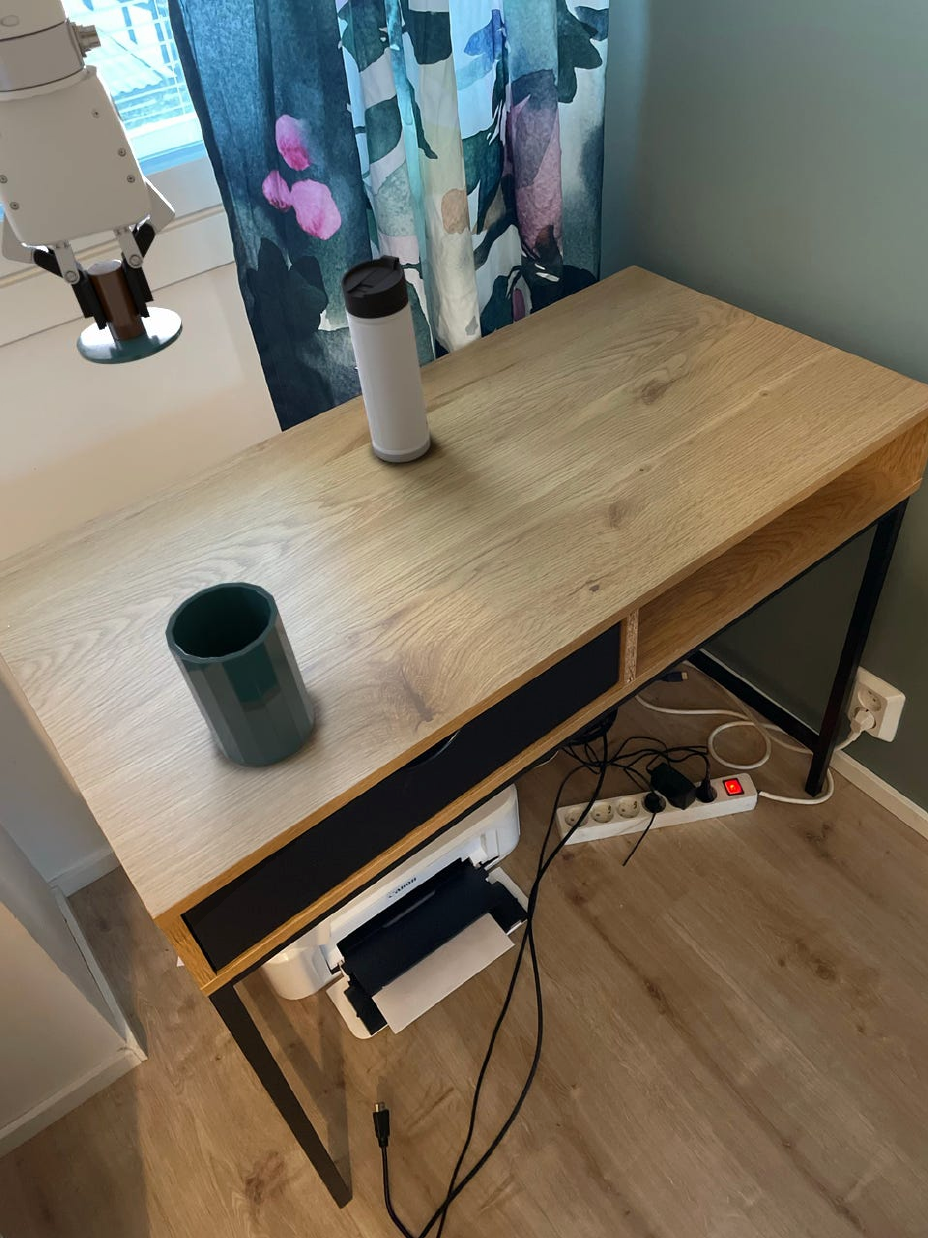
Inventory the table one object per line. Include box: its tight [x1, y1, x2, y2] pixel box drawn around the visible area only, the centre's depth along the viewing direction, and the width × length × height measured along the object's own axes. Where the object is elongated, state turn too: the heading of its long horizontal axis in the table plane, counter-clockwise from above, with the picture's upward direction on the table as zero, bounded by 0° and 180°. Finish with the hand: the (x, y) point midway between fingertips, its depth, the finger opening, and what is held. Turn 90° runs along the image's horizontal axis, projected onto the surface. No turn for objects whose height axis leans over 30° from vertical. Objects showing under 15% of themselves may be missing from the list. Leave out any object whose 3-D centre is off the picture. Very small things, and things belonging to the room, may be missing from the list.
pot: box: [164, 581, 315, 768], centre depth 69 cm, size 8×8×12 cm
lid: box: [76, 259, 183, 365], centre depth 73 cm, size 9×9×7 cm
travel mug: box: [340, 254, 431, 463], centre depth 92 cm, size 6×7×20 cm
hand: (122, 315), depth 73 cm, fingers closed on lid, 2 cm apart
